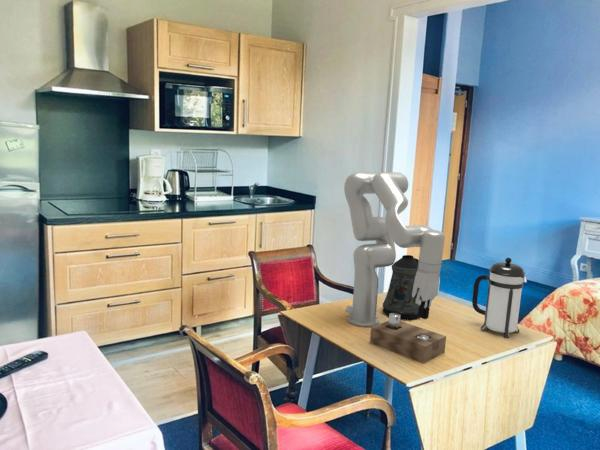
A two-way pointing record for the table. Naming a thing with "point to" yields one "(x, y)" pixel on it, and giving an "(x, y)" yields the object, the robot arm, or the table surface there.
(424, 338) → the peg
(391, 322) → the peg
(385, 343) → the walnut block
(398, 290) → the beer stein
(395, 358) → the table surface
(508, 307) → the coffee press
